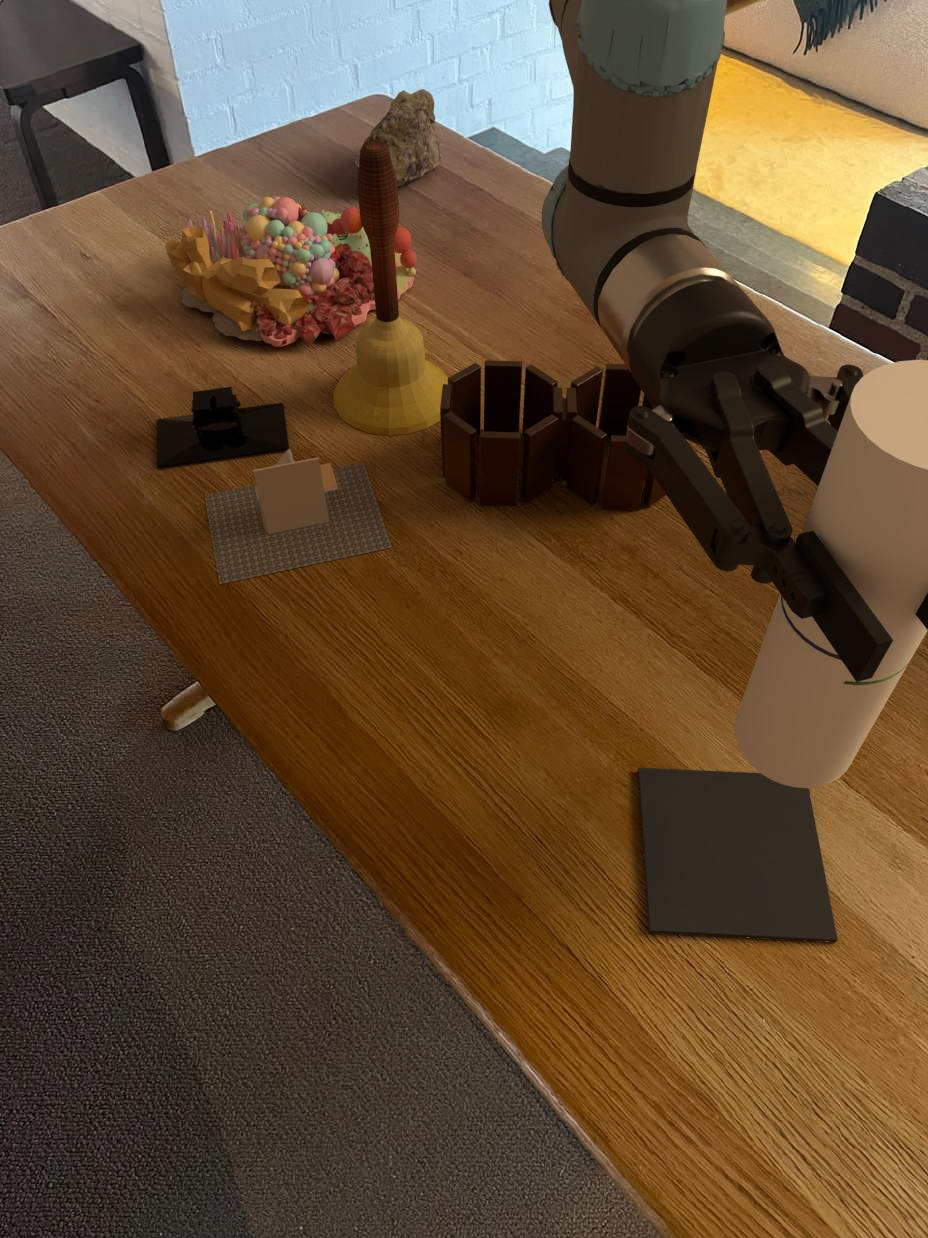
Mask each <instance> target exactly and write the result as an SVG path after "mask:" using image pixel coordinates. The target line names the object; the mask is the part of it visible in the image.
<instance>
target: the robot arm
mask: <svg viewBox="0 0 928 1238" xmlns="http://www.w3.org/2000/svg"><path fill="white" fill-rule="evenodd" d="M762 1H763V0H548V8H549V12H550V17H551V19H552V22H553V24H554V25H555V26H556V28H557V31H558V34H559V36H560V39H561V45H562V51H563V55H564V59H565V63H566V66H567V69H568V74H569V78H570V81H571V85H572V89H573V90H572V91H573V96H572V97H573V99H572V100H573V102H572V117H571V118H572V119H571V134H570V150H569V152H570V153H569V159H568V165H567V166H565V167H564V168H563V169H562V170H560V172H559V173H558V174H557V176H556V177H555V179H554V181H553V183H552V185H551V187H550V189H549V190H548V193H547V194H546V195H545V197H544V200H543V204H542V208H541V229H542V233H543V236H544V240H545V242H546V244H547V245H548V247H549V249H550V253H551V257H553V258H554V260H555V265H556V266H557V268H558V269H559V271H560V274H561V275H562V276H563V277H564V279H565V280H566V281H567V282H568V283H569V284H570V286H571V287H572V288H573V290H574V291H575V293H576V294H577V296H578V297H579V299H580V300H581V302H582V303H583V304H584V306H585V308H586V309H587V310H588V312H589V313H590V314H591V316H592V317H593V320H595V322H596V323H597V325H598V326H599V327H600V328H601V329H602V331H603V333H604V334H605V336H606V338H607V339H608V341H609V342H610V344H611V345H612V347H613V349H615V351H616V353H617V354H618V355H619V357H620V359H621V360H622V362H623V364H625V365H626V366H627V368H628V369H629V371H630V372H631V373H632V376H633V378H634V380H635V381H636V383H637V384H638V386H639V387H640V389H641V393H643V396H644V395H645V396H646V398H647V399H648V401H649V403H650V404H651V406H652V407H653V410H651V409H649V408H647V407H643V406H642V405H639V406H637V407H634V408H632V409H631V410H630V413H629V419H628V425H627V431H626V438H625V444H624V452H625V453H626V454H627V455H628V456H629V457H631V458H632V459H634V460H635V461H636V462H638V463H639V464H640V465H642V466H643V467H645V468H646V469H647V471H648V470H649V471H650V472H651V474H652V475H653V476H654V478H655V479H656V481H657V482H658V484H659V485H660V487H661V488H662V490H663V491H664V492H665V494H666V495H665V496H666V497H667V498H668V500H669V502H670V503H671V504H672V506H673V507H674V508H675V510H676V511H677V513H678V514H679V516H680V517H681V519H682V520H683V522H684V523H685V525H686V526H687V527H688V529H689V531H690V532H691V533H692V535H693V536H694V538H695V539H696V540H697V542H698V544H699V545H700V546H701V548H702V550H703V551H704V552H705V554H706V555H707V556H708V558H709V560H710V562H712V564H713V565H714V567H716V568H717V569H718V570H719V571H723V572H733V571H735V570H737V569H738V567H739V566H752V569H751V572H750V577H751V579H752V580H754V581H755V582H756V583H759V584H761V585H762V584H763V585H768V584H771V583H773V585H774V587H775V589H776V590H777V591H778V593H779V595H780V594H781V595H782V597H783V599H784V600H785V601H786V603H787V605H788V606H789V608H790V609H791V611H792V612H793V613H795V614H796V615H797V616H798V617H800V618H801V619H804V618H808V617H813V619H814V620H815V622H816V623H817V625H818V626H819V628H820V629H821V631H822V632H823V634H824V635H825V637H826V638H827V639H828V641H829V642H830V644H831V645H832V647H833V648H834V650H835V651H836V653H837V654H838V656H839V657H840V659H841V660H842V662H843V663H844V665H845V666H846V668H847V669H848V670H849V672H850V673H851V675H852V676H853V678H854V679H855V681H856V682H859V681H863V680H867V679H870V678H872V677H873V675H874V673H875V672H876V670H877V668H878V666H879V665H880V663H881V661H882V659H883V658H884V656H885V654H886V652H887V651H888V649H889V647H890V645H891V644H892V642H893V639H892V638H891V636H890V635H889V633H888V632H887V631H886V629H885V628H884V627H883V625H882V624H881V622H880V621H879V620H878V618H877V617H876V616H875V614H874V613H873V612H872V610H871V609H870V607H869V606H868V605H867V603H866V602H865V601H864V599H863V598H862V596H861V595H860V594H859V592H858V591H857V590H856V588H855V587H854V586H853V584H852V583H851V581H850V580H849V579H848V577H847V576H846V575H845V573H844V572H843V570H842V569H841V568H840V566H839V565H838V564H837V562H836V561H835V560H834V558H833V557H832V555H831V554H830V553H829V551H828V550H827V549H826V547H825V546H824V544H823V543H822V542H821V540H820V539H819V538H818V536H817V535H816V534H815V532H814V531H809V532H805V533H802V532H801V533H798V534H797V536H796V539H795V540H794V539H793V537H792V534H793V532H794V531H793V527H792V524H791V522H790V520H789V517H788V515H787V513H786V510H785V507H784V506H783V503H782V501H781V499H780V496H779V494H778V491H777V489H776V487H775V485H774V482H773V479H772V477H771V475H770V473H769V471H768V468H767V466H766V464H765V461H764V458H763V456H762V454H761V452H760V451H768V452H769V453H770V454H771V455H772V456H773V457H775V458H776V459H777V460H778V461H779V462H780V463H781V464H782V465H784V466H786V467H789V466H791V465H794V466H795V467H796V468H797V469H798V470H799V471H800V472H802V474H803V475H805V476H806V477H807V478H808V479H809V480H810V481H811V482H812V483H814V484H815V486H817V487H818V486H819V484H820V481H821V478H822V475H823V472H824V470H825V467H826V464H827V461H828V459H829V456H830V453H831V450H832V447H833V445H834V442H835V439H836V436H837V433H838V431H839V428H840V425H841V422H842V419H843V417H844V414H845V411H846V408H847V405H848V403H849V400H850V397H851V394H852V392H853V390H854V387H855V385H856V384H857V383H858V382H859V380H860V379H861V378H862V377H863V376H864V372H863V369H861V368H860V367H859V366H857V365H854V364H844V365H841V366H840V367H839V369H838V372H837V374H836V376H820V375H810V374H809V372H808V370H807V368H806V367H804V366H803V365H802V364H801V363H799V362H796V361H794V360H792V359H790V358H789V357H787V356H786V355H785V354H784V353H783V350H782V348H781V345H780V342H779V339H778V335H777V333H776V330H775V328H774V326H773V325H772V323H771V321H770V320H769V319H768V317H766V315H765V314H764V313H763V312H762V311H761V310H760V308H759V307H758V306H757V305H756V304H755V303H754V301H753V300H752V299H751V298H750V296H748V294H747V293H746V292H745V291H744V290H743V289H742V288H741V285H739V284H738V282H737V281H736V280H735V279H734V278H733V277H732V275H731V274H730V273H729V272H728V271H727V270H726V269H725V267H724V266H723V265H722V264H721V263H720V262H719V261H718V259H717V258H716V257H715V256H714V255H713V254H712V253H711V252H710V250H709V249H708V247H707V246H706V245H705V244H704V243H703V242H702V239H700V238H699V237H698V236H697V235H696V234H695V233H694V231H693V230H692V228H691V227H690V226H689V220H688V219H689V218H688V217H689V212H690V206H691V201H692V196H693V191H694V187H695V181H696V173H697V169H698V168H697V167H698V164H699V157H700V153H701V148H702V142H703V137H704V132H705V129H706V128H705V127H706V122H707V118H708V113H709V107H710V103H711V99H712V92H713V88H714V84H715V83H714V82H715V78H716V72H717V68H718V63H719V61H720V60H721V59H720V58H721V57H722V50H723V49H724V45H725V37H726V36H725V35H726V32H725V21H726V20H725V19H726V16H728V15H730V14H734V13H735V12H738V11H741V10H742V9H745V8H748V7H750V6H752V5H755V4H758V3H760V2H762ZM828 422H829V423H828ZM689 441H690V442H691V443H694V444H696V445H697V446H701V447H702V449H703V450H705V452H706V455H707V459H708V461H709V464H710V466H711V468H712V471H713V473H714V475H713V474H712V472H711V471H710V470H709V468H708V467H707V465H706V464H705V463H704V462H703V460H702V459H701V458H700V456H699V454H697V452H696V451H695V449H694V448H693V447H692V446H691V444H690V442H689ZM717 479H720V480H721V482H722V485H723V487H722V486H721V484H720V483H719V482H718V480H717ZM916 616H917V617H918V618H919V620H920V621H921V622H922V624H923V625H924V626H925V627H926V629H927V630H928V593H927V595H926V596H925V598H924V600H923V602H922V603H921V605H920V607H919V608H918V610H917V612H916Z"/></svg>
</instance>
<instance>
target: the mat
mask: <svg viewBox="0 0 928 1238" xmlns="http://www.w3.org/2000/svg"><path fill="white" fill-rule="evenodd" d="M637 780H638V781H637V782H639V784H638V796H639V797H640V799H639V811H640V812H641V814H640V827H641V826H642V829H641V842H643V844H642V855H643V854H644V859H643V871H644V873H643V874H644V888H645V901H646V919H647V932H648V931H649V932H648V933H649V934H658V933H664V934H663V935H678V934H682V935H681V936H698V935H699V937H700V936H701V935H706V936H705V937H718V938H737V937H741V938H740V939H747V938H746V937H750V938H749V939H757V938H761V940H763V939H762V938H768V939H767V940H777V939H784V940H783V941H796V940H799V942H804V941H803V940H806V941H805V942H816V941H822V942H821V943H826V942H825V941H829V942H828V943H837V941H838V940H839V939H838V933H837V929H836V924H835V918H834V913H833V909H832V908H833V907H832V903H831V898H830V892H829V887H828V882H827V876H826V871H825V867H824V861H823V856H822V850H821V845H820V841H819V835H818V830H817V825H816V819H815V814H814V809H813V803H812V799H811V793H810V788H797V787H791V786H787V785H783V784H780V783H778V782H775V781H773V780H771V779H769V778H768V777H766V776H764V775H762V774H761V773H760V772H745V771H744V772H743V771H721V770H701V769H700V770H698V769H678V768H677V769H676V768H674V769H673V768H657V767H655V768H654V767H653V768H652V767H638V769H637ZM639 797H638V798H639ZM640 809H641V810H640ZM726 936H727V937H726ZM701 937H702V936H701Z"/></svg>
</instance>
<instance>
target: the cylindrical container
mask: <svg viewBox="0 0 928 1238" xmlns="http://www.w3.org/2000/svg"><path fill="white" fill-rule="evenodd" d="M809 531H814V532H815V534H816V535H817V536H818V538H819V539H820V540H821V542H822V543H823V544H824V546H825V547H826V549H827V550H828V551H829V553H830V554H831V555H832V557H833V558H834V560H835V561H836V562H837V564H838V565H839V566H840V568H841V569H842V570H843V572H844V573H845V575H846V576H847V577H848V579H849V580H850V581H851V583H852V584H853V586H854V587H855V588H856V590H857V591H858V592H859V594H860V595H861V596H862V598H863V599H864V601H865V602H866V603H867V605H868V606H869V607H870V609H871V610H872V612H873V613H874V614H875V616H876V617H877V618H878V620H879V621H880V622H881V624H882V625H883V627H884V628H885V629H886V631H887V632H888V633H889V635H890V636H891V638H892V639H893V642H892V644H891V645H890V647H889V649H888V651H887V652H886V654H885V656H884V658H883V659H882V661H881V663H880V665H879V666H878V668H877V670H876V672H875V673H874V675H873V677H872V678H870V679H867V680H863V681H859V682H856V681H855V679H854V678H853V676H852V675H851V673H850V672H849V670H848V669H847V668H846V666H845V665H844V663H843V662H842V660H841V659H840V657H839V656H838V654H837V653H836V651H835V650H834V648H833V647H832V645H831V644H830V642H829V641H828V639H827V638H826V637H825V635H824V634H823V632H822V631H821V629H820V628H819V626H818V625H817V623H816V622H815V620H814V619H813V617H808V618H804V619H801V618H800V617H798V616H797V615H796V614H795V613H793V612H792V611H791V609H790V608H789V606H788V605H787V603H786V601H785V600H784V599H783V597H782V595H781V594H780V593H779V595H778V599H777V601H776V604H775V607H774V609H773V612H772V615H771V618H770V622H769V623H768V626H767V629H766V632H765V635H764V637H763V640H762V643H761V646H760V649H759V652H758V655H757V657H756V660H755V663H754V666H753V669H752V670H751V671H752V672H751V675H750V677H749V679H748V682H747V685H746V688H745V691H744V694H743V697H742V699H741V702H740V705H739V708H738V709H737V713H736V716H735V720H734V721H735V722H734V726H733V727H734V738H735V741H736V744H737V747H738V748H739V751H740V753H741V754H742V756H743V758H744V759H745V760H746V761H747V763H749V765H750V766H751V767H752V768H754V769H755V770H756V771H757V772H758V773H761V774H762V775H764V776H766V777H768V778H769V779H771V780H773V781H775V782H778V783H780V784H783V785H787V786H791V787H797V788H809V789H812V788H813V789H814V788H820V787H823V786H827V785H829V784H831V783H833V782H835V781H837V780H838V779H840V778H841V777H842V776H844V775H845V773H846V772H847V771H848V770H849V768H850V767H851V765H852V763H853V761H854V760H855V758H856V756H857V754H858V753H859V750H860V749H861V747H862V746H863V743H864V742H865V740H866V738H867V737H868V735H869V733H870V731H872V728H873V726H874V725H875V723H876V721H877V719H878V718H879V716H880V714H881V713H882V711H883V709H884V707H885V705H886V703H887V702H888V700H889V698H890V697H891V695H892V693H893V691H894V690H895V688H896V686H897V685H898V683H899V681H900V679H901V677H902V676H903V674H904V672H905V671H906V669H907V667H908V665H909V663H910V662H911V660H912V658H913V656H914V655H915V653H916V651H917V649H918V648H919V646H920V645H921V643H922V641H923V639H924V638H925V636H926V634H927V632H928V630H927V629H926V627H925V626H924V625H923V624H922V622H921V621H920V620H919V618H918V617H917V616H916V612H917V610H918V608H919V607H920V605H921V603H922V602H923V600H924V598H925V596H926V595H927V593H928V359H911V360H909V359H908V360H900V361H896V362H891V363H887V364H883V365H880V366H879V367H877V368H874V369H871V370H870V371H868V372H867V373H866V374H865V375H863V377H862V378H861V379H860V380H859V382H858V383H857V384H856V385H855V387H854V390H853V392H852V394H851V397H850V400H849V403H848V405H847V408H846V411H845V414H844V417H843V419H842V422H841V425H840V428H839V431H838V433H837V436H836V439H835V442H834V445H833V447H832V450H831V453H830V456H829V459H828V461H827V464H826V467H825V470H824V472H823V475H822V478H821V481H820V484H819V486H817V489H816V492H815V495H814V498H813V501H812V503H811V507H810V508H809V512H808V514H807V517H806V520H805V524H804V525H803V528H802V531H801V533H805V532H809Z"/></svg>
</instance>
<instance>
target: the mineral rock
mask: <svg viewBox="0 0 928 1238" xmlns="http://www.w3.org/2000/svg"><path fill="white" fill-rule="evenodd" d="M435 105H436V104H435V99H434V97H433V95H432V93H431V92H430V91H427V90H426V89H424V88H421V89H418V90H416V91H414V92H413V93H409V92H408V91H406V90H405V89H404V90H401V91H399V92H398V94H397V95H396V96H395V98H394V99H393V100H392V101H391V102H390V106H389V110H388V111H387V112H386V114H385V116H384V117H383V118H381V120H380V121H379V122H378V123H377V124H376V125H375V126H374V127H373V129H372V130H371V132H370V134H369V136H367V138H365V140H364V141H363V144H364V143H365V142H367V141H369V140H380V141H383V142H384V143H385V144H386V145H387V147H388V148H389V152H390V156H391V160H392V164H393V168H394V171H395V175H396V179H397V186H398V187H401V186H404V185H405V184H406V183H409V182H411V181H413V180H416V179H418V178H421V177H423V176H424V175H425V174H426V173H428V172H432V170H433V169H436V168H437V167H439V165H440V163H441V162H442V161H441V151H440V144H441V142H440V140H439V138H438V135H437V133H436V128H435V127H436V126H435V123H436V115H435ZM359 160H360V151H359V152H358V153H357V155H356V158H355V165H356V167H357V170H358V171H359ZM358 171H357V172H358Z"/></svg>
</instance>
